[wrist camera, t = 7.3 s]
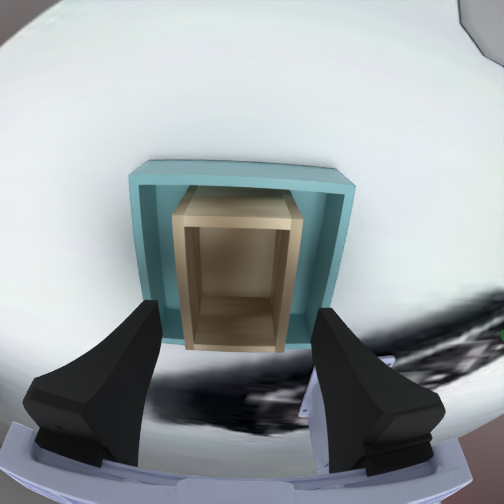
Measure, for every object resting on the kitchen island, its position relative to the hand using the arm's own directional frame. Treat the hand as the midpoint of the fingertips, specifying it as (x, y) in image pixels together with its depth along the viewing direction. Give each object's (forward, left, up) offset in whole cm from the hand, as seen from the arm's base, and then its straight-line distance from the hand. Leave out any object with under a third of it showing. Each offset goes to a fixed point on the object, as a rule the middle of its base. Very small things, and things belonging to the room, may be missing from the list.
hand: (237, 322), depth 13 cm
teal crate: (0, 0, -7) cm, 7 cm away
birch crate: (0, 0, -7) cm, 7 cm away
